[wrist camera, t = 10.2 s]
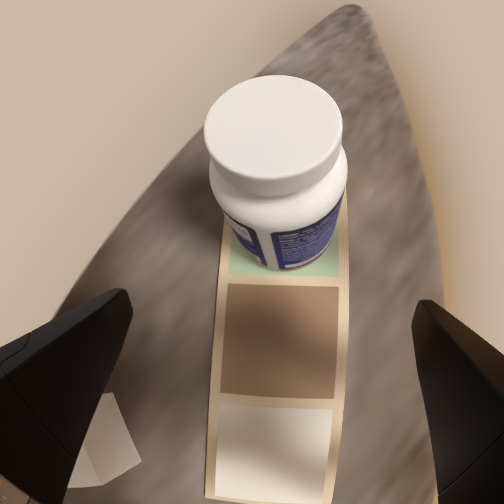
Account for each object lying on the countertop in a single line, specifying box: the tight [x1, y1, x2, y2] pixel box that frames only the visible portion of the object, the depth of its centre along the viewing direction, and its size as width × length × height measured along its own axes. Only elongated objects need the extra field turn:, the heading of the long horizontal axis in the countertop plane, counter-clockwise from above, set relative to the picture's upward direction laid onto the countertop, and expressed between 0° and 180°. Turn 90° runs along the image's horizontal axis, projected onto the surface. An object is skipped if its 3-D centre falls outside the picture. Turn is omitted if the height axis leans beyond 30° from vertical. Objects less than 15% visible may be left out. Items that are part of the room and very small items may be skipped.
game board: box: [205, 186, 349, 504], centre depth 17 cm, size 21×8×1 cm, turn 176°
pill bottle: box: [204, 75, 348, 272], centre depth 15 cm, size 6×6×10 cm
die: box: [67, 392, 142, 488], centre depth 15 cm, size 5×5×5 cm
